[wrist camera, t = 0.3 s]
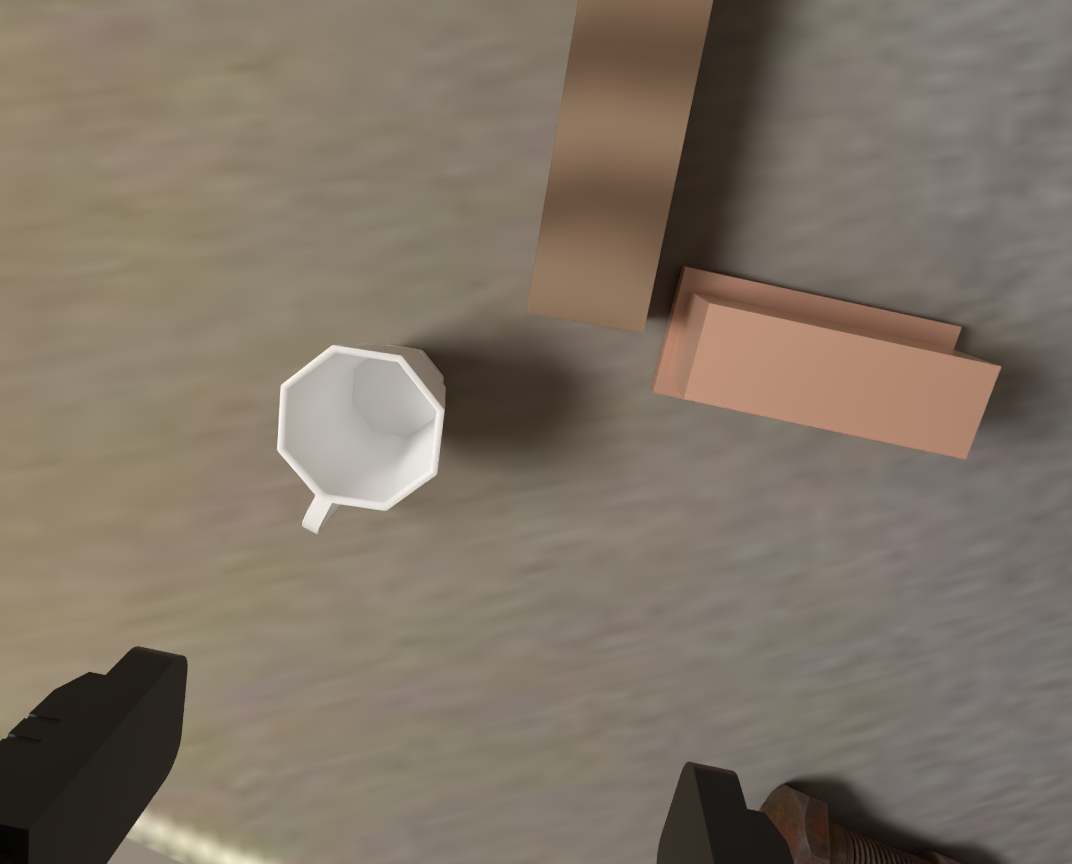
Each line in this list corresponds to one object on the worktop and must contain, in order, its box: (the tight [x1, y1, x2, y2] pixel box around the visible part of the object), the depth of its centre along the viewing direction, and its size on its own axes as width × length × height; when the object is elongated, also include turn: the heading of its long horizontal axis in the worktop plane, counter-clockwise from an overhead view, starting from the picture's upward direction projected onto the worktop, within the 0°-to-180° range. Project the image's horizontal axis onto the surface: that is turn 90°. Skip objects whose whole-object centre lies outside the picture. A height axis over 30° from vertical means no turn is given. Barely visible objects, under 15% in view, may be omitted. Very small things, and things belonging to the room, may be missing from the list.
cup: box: [277, 343, 446, 534], centre depth 35 cm, size 7×10×8 cm
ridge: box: [651, 266, 1001, 459], centre depth 35 cm, size 6×13×6 cm, turn 78°
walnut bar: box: [526, 0, 713, 333], centre depth 32 cm, size 22×5×5 cm, turn 170°
